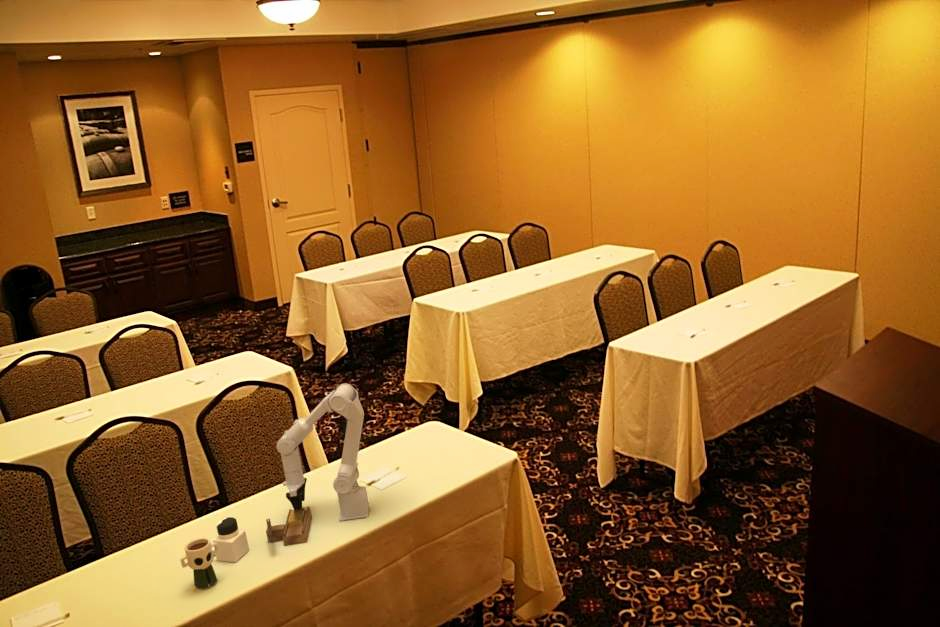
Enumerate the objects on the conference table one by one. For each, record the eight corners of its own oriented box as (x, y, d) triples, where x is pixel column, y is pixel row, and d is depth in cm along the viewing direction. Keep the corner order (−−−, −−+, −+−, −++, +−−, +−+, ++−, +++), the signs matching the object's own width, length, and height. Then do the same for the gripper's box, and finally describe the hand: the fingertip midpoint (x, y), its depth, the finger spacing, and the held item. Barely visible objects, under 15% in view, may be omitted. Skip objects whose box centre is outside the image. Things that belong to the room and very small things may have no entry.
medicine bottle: (249, 550, 242) (242, 515, 239) (236, 562, 235) (228, 527, 232) (230, 548, 244) (223, 514, 241) (216, 561, 238) (208, 526, 235)
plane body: (312, 517, 257) (309, 506, 256) (306, 542, 242) (304, 530, 241) (274, 523, 257) (271, 512, 256) (266, 548, 241) (264, 537, 240)
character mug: (193, 597, 220) (183, 556, 217) (183, 588, 225) (174, 548, 222) (229, 579, 226) (220, 540, 223) (219, 571, 232) (210, 532, 229)
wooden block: (305, 513, 254) (304, 508, 254) (302, 525, 246) (301, 520, 246) (292, 515, 254) (291, 510, 253) (288, 527, 246) (287, 522, 246)
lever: (274, 542, 236) (272, 533, 235) (270, 543, 236) (268, 534, 235) (271, 526, 246) (269, 518, 245) (267, 527, 245) (265, 519, 245)
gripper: (283, 461, 261) (290, 497, 265) (277, 480, 247) (284, 518, 251) (304, 458, 262) (311, 494, 265) (299, 477, 248) (306, 515, 251)
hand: (300, 506), depth 258 cm, fingers open, 7 cm apart
